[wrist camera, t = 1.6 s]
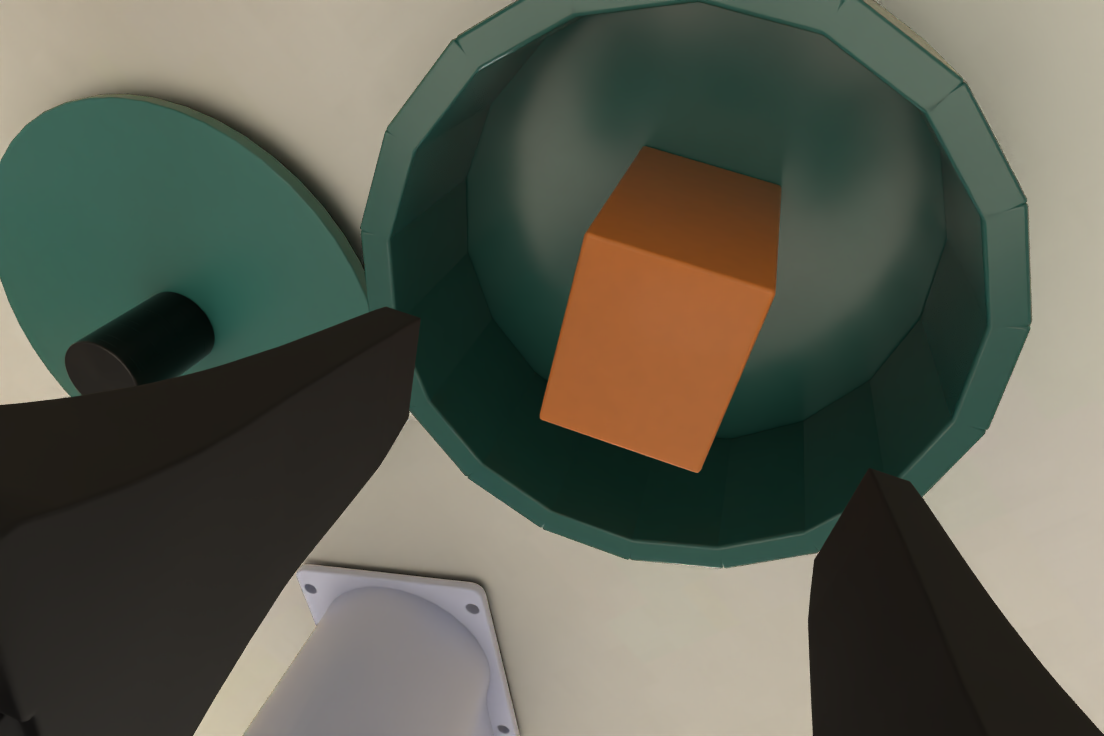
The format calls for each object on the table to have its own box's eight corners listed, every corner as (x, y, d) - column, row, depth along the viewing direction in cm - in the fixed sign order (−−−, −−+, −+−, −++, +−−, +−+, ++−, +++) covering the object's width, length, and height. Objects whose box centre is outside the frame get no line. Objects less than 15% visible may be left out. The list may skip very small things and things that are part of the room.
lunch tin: (943, 458, 20) (980, 595, 16) (491, 435, 24) (429, 542, 20) (1024, -101, 14) (1116, -107, 10) (399, -11, 18) (282, 12, 14)
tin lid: (439, 491, 26) (380, 586, 23) (123, 467, 31) (29, 544, 27) (329, 65, 20) (220, 101, 16) (-56, 110, 24) (-214, 146, 20)
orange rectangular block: (723, 335, 20) (699, 475, 15) (600, 296, 20) (537, 420, 15) (783, 185, 18) (777, 292, 13) (642, 144, 18) (584, 232, 13)
